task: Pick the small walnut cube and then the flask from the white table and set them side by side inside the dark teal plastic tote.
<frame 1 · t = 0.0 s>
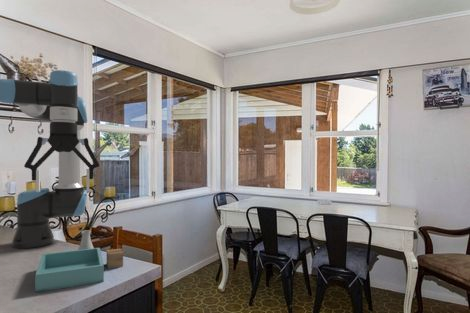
hand: (63, 190, 98), 28 cm above the counter, fingers open, 13 cm apart
tote: (71, 274, 103), on the counter
flask: (85, 258, 119), on the counter
walnut cube: (114, 265, 112), on the counter
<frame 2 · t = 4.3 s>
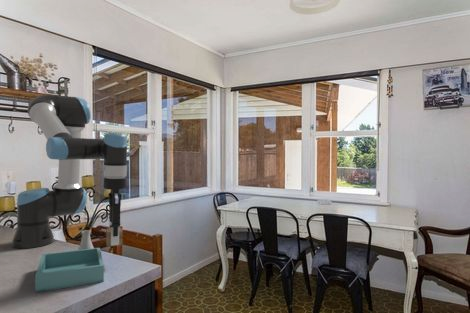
hand: (114, 242, 112), 8 cm above the counter, fingers closed on walnut cube, 5 cm apart
walnut cube: (114, 243, 112), point 7 cm above the counter, touching gripper
everything else where it was.
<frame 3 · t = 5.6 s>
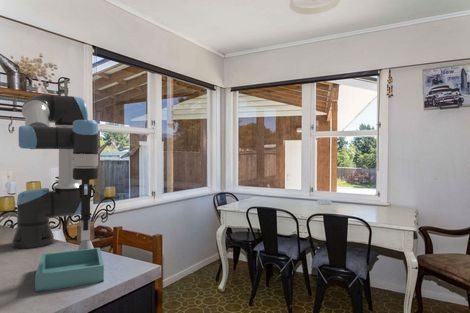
hand: (85, 237, 104), 12 cm above the counter, fingers closed on walnut cube, 5 cm apart
walnut cube: (85, 238, 104), point 11 cm above the counter, touching gripper
everything else where it was.
when the fingers open (1 cm above the counter, at t = 7.4 s): walnut cube stays where it is, resting on tote.
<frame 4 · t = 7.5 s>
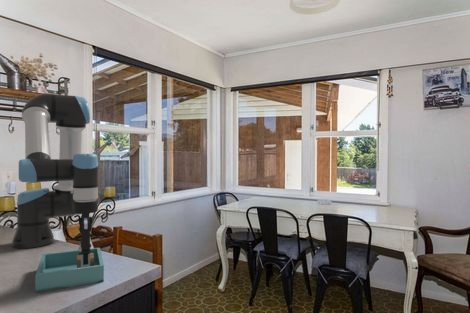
hand: (85, 270, 104), 1 cm above the counter, fingers open, 5 cm apart
walnut cube: (85, 271, 104), point 1 cm above the counter, touching gripper, tote
everything else where it was.
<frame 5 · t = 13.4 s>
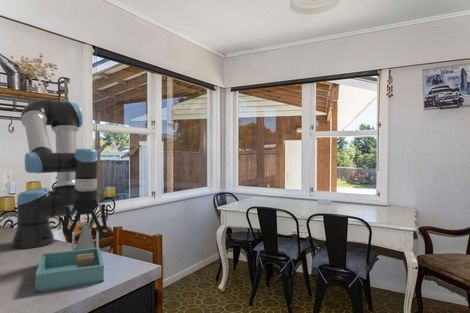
hand: (85, 249, 120), 3 cm above the counter, fingers closed on flask, 8 cm apart
flask: (85, 250, 120), point 2 cm above the counter, touching gripper
walnut cube: (85, 271, 104), point 1 cm above the counter, touching tote
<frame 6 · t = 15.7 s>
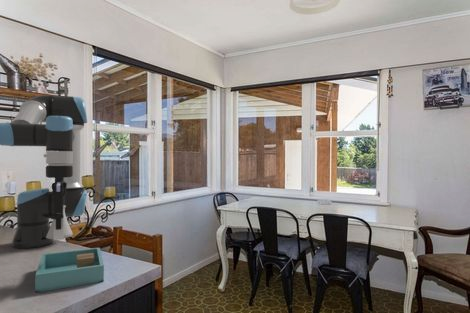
hand: (59, 236, 101), 13 cm above the counter, fingers closed on flask, 8 cm apart
flask: (59, 237, 101), point 13 cm above the counter, touching gripper
everything else where it was.
when the fingers open (2 cm above the counter, at t = 18.0 s): flask stays where it is, resting on tote.
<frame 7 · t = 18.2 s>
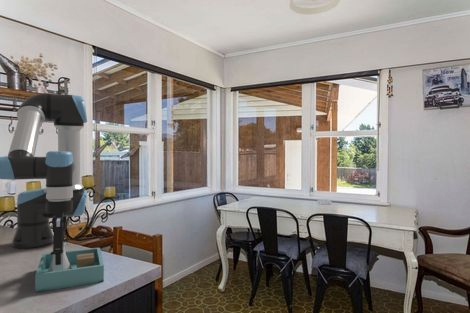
hand: (59, 268, 101), 3 cm above the counter, fingers open, 10 cm apart
flask: (59, 275, 101), resting on tote
everything else where it was.
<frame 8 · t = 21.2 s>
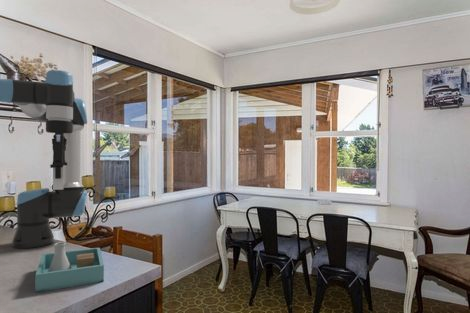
hand: (59, 187, 101), 29 cm above the counter, fingers open, 13 cm apart
nothing on the counter moved.
at the end: flask inside the target area on the tote (3.4 cm from its centre), point 0.4 cm above the tote's base; walnut cube inside the target area on the tote (4.0 cm from its centre), point 0.6 cm above the tote's base; flask tilted 0° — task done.
